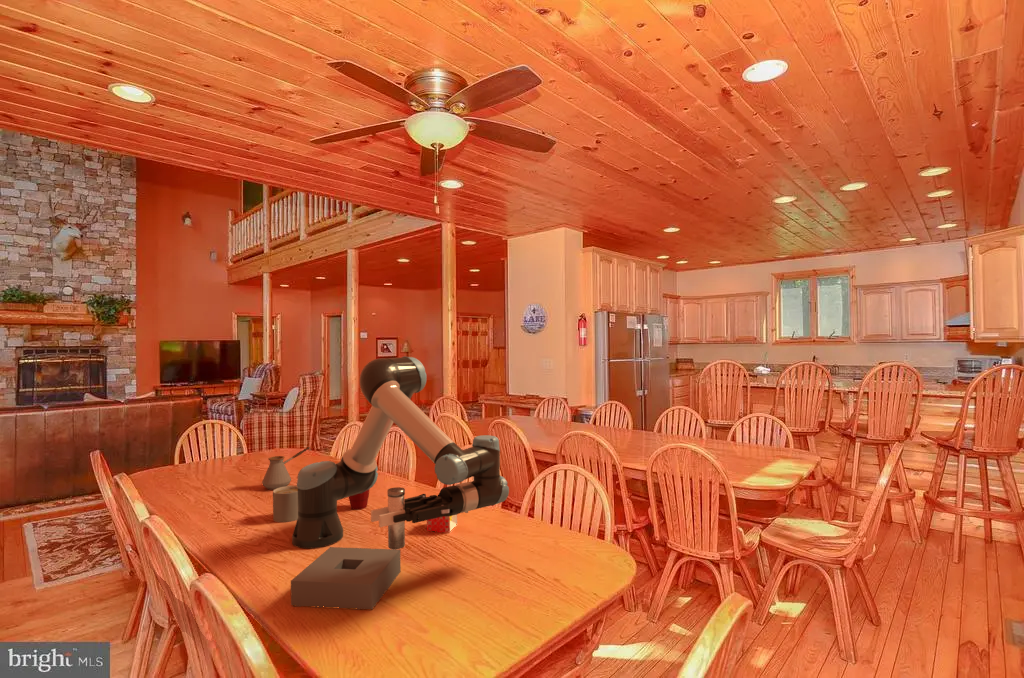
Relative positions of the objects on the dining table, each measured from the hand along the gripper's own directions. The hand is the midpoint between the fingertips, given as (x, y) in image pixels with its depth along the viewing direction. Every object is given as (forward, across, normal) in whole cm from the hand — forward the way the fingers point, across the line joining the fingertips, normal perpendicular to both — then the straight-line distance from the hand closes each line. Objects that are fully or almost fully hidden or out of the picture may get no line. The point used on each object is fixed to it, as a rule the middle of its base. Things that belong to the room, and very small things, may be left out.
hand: (375, 518), depth 126 cm
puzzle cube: (-37, +31, -20) cm, 53 cm away
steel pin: (-5, 0, -8) cm, 10 cm away
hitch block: (+3, +10, -20) cm, 23 cm away
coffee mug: (-2, +77, -21) cm, 80 cm away
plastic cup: (-24, +70, -20) cm, 77 cm away
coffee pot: (-13, +121, -21) cm, 123 cm away
